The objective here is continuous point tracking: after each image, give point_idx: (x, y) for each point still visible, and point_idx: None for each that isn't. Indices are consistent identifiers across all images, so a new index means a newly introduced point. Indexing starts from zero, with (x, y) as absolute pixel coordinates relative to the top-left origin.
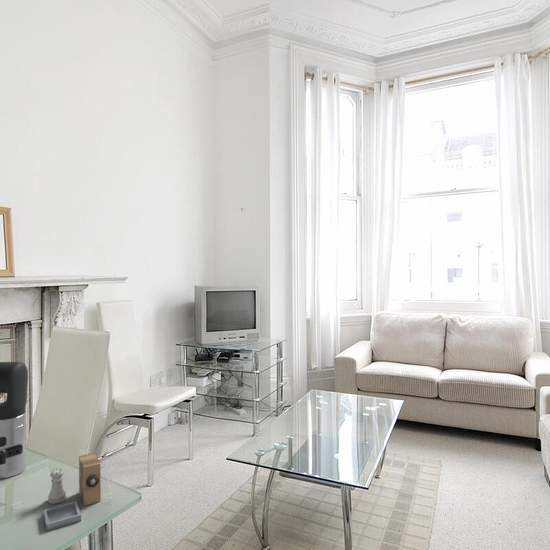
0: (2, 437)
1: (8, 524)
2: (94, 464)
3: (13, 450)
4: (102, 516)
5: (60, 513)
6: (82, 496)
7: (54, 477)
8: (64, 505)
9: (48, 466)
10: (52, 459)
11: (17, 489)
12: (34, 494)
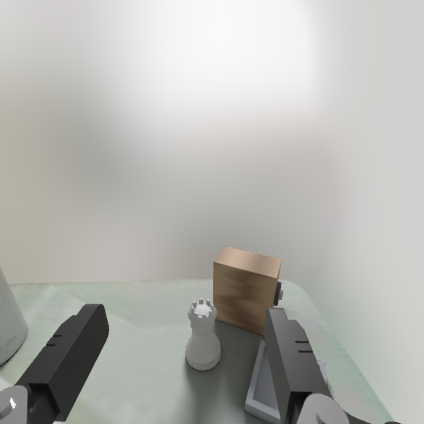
0: (89, 313)
1: None
2: (277, 265)
3: (314, 360)
4: (328, 339)
5: (271, 382)
6: (249, 324)
7: (210, 323)
8: (260, 361)
9: (74, 298)
10: (63, 283)
11: None
12: (134, 369)
